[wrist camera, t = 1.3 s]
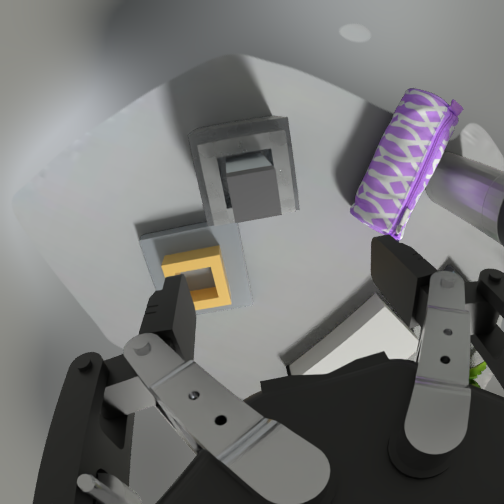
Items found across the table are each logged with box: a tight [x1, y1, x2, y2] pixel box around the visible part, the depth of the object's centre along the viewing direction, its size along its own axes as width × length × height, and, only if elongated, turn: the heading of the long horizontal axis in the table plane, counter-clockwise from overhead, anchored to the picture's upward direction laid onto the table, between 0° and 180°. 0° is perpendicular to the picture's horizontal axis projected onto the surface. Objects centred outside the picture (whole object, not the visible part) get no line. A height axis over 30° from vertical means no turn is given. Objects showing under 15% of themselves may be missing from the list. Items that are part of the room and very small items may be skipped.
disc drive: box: [286, 293, 419, 376], centre depth 56 cm, size 18×22×5 cm
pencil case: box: [350, 88, 463, 242], centre depth 37 cm, size 22×9×10 cm, turn 159°
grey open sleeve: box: [188, 116, 300, 226], centre depth 34 cm, size 10×10×13 cm
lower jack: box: [139, 222, 253, 315], centre depth 44 cm, size 14×14×5 cm
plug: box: [226, 153, 282, 223], centre depth 27 cm, size 4×4×9 cm
